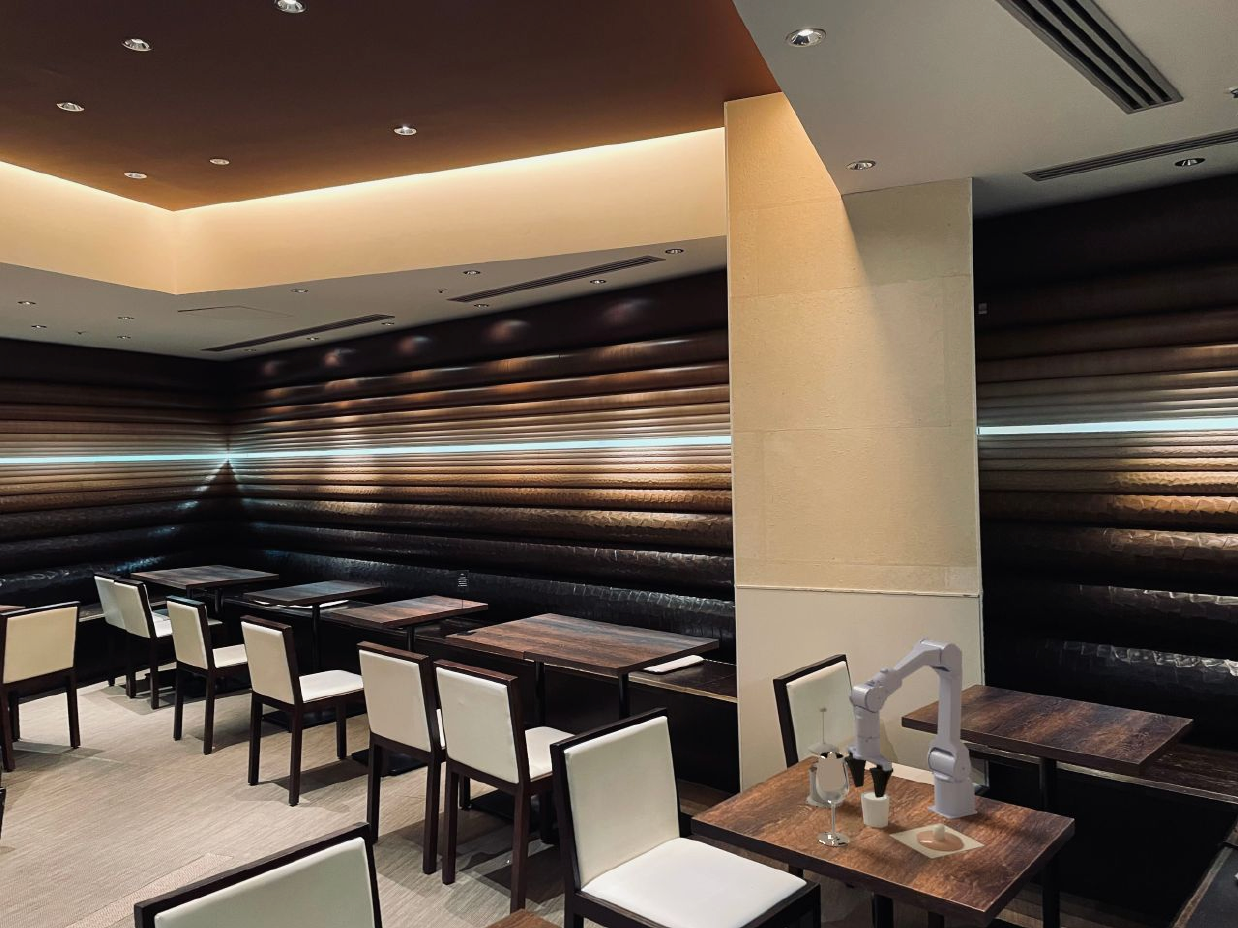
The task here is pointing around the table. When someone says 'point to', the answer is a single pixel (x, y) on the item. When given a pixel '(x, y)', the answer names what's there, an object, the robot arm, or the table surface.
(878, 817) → the white tapered pot
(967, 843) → the mat
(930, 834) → the lid
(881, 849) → the table surface
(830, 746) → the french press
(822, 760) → the wineglass
